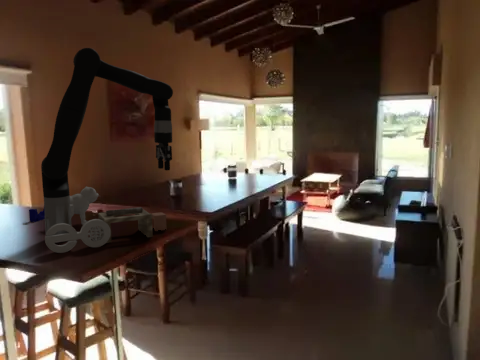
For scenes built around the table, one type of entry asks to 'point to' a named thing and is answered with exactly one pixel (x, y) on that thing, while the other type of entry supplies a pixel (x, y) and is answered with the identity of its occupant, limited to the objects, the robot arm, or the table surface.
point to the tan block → (158, 221)
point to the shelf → (129, 219)
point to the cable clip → (36, 215)
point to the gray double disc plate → (77, 235)
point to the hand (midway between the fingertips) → (163, 169)
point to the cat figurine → (82, 202)
